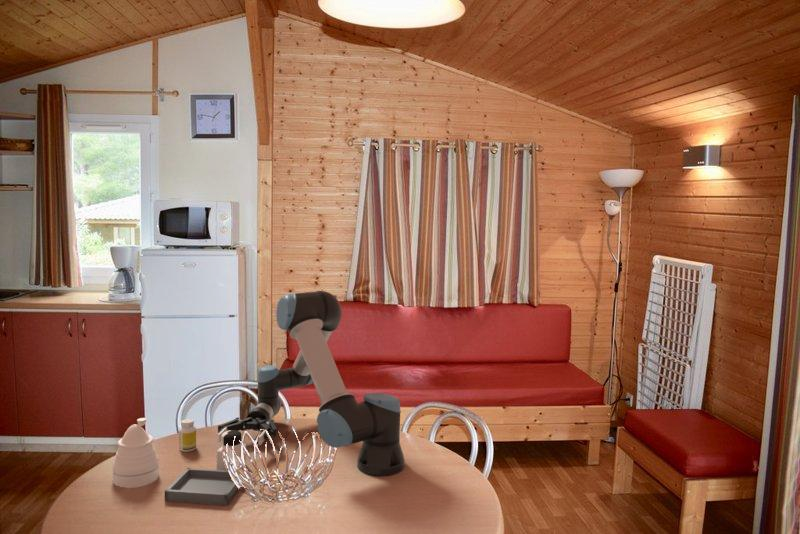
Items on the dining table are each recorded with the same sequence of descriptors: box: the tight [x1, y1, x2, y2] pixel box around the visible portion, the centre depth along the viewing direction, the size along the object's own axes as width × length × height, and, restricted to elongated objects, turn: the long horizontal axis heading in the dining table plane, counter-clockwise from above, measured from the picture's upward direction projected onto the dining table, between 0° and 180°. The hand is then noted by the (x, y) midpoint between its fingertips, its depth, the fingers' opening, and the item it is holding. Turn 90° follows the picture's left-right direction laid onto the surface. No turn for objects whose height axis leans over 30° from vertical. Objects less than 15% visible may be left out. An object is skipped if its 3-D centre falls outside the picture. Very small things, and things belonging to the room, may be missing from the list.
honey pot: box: [111, 417, 160, 489], centre depth 188 cm, size 13×13×18 cm
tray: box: [164, 467, 239, 506], centre depth 182 cm, size 18×15×3 cm
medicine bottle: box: [216, 430, 247, 470], centre depth 196 cm, size 7×7×12 cm
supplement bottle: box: [178, 418, 197, 453], centre depth 211 cm, size 5×5×10 cm
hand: (238, 439), depth 203 cm, fingers open, 13 cm apart
